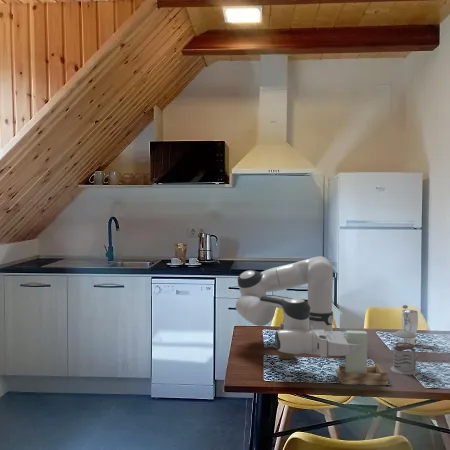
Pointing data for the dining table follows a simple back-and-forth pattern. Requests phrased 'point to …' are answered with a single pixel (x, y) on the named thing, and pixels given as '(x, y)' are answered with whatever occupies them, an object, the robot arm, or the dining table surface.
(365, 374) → the wooden tray
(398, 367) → the grey white tiered vessel
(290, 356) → the squeeze bottle
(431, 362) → the dining table surface
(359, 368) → the tall white upright block
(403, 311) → the beer glass
